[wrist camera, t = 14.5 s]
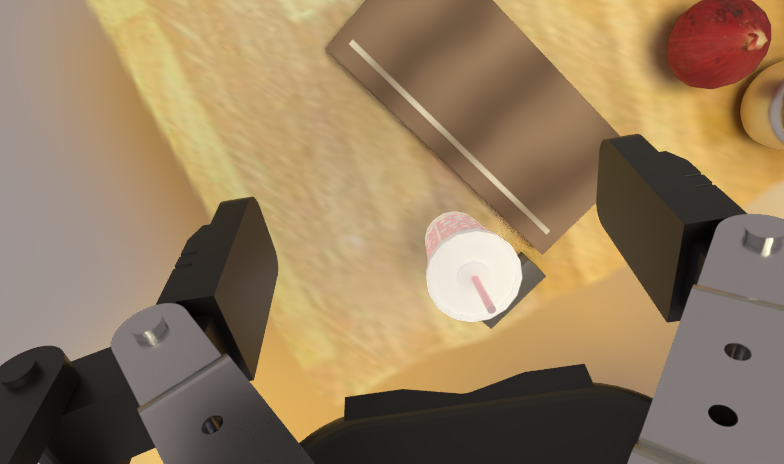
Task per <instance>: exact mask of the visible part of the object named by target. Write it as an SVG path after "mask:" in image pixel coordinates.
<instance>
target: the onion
mask: <svg viewBox="0 0 784 464" xmlns="http://www.w3.org/2000/svg"><path fill="white" fill-rule="evenodd" d="M770 42H771V24H770V22H769V20H768V17H767V15H766V13H765V12H764V11H763V10H762V9H761V8H760V7H759V6H758V5H756V4H755V3H754V2H753V1H752V0H702V1H700V2H698V3H696V4H695V5H693V6H692V7H691V8H690V9H688V10H687V11H686V12H685V13H683V14H682V15H681V16H680V17H679V19H678V20H677V22H676V24H675V26H674V28H673V29H672V31H671V33H670V38H669V42H668V47H667V53H668V61H669V65H670V67H671V68H672V70H673V72H674V73H675V75H676V76H677V78H679V79H680V80H681V81H683V82H684V83H686V84H687V85H689V86H692V87H697V88H706V89H715V88H719V87H723V86H726V85H730V84H733V83H736V82H738V81H739V80H741V79H743V78H744V77H745V76H747V75H748V74H750V73H751V72H753V71H754V70H755V69H756V67H757V66H758V65H759V63H760V62H761V61H762V60H763V58H764V57H765V56H766V54H767V51H768V48H769V45H770Z"/></svg>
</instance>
